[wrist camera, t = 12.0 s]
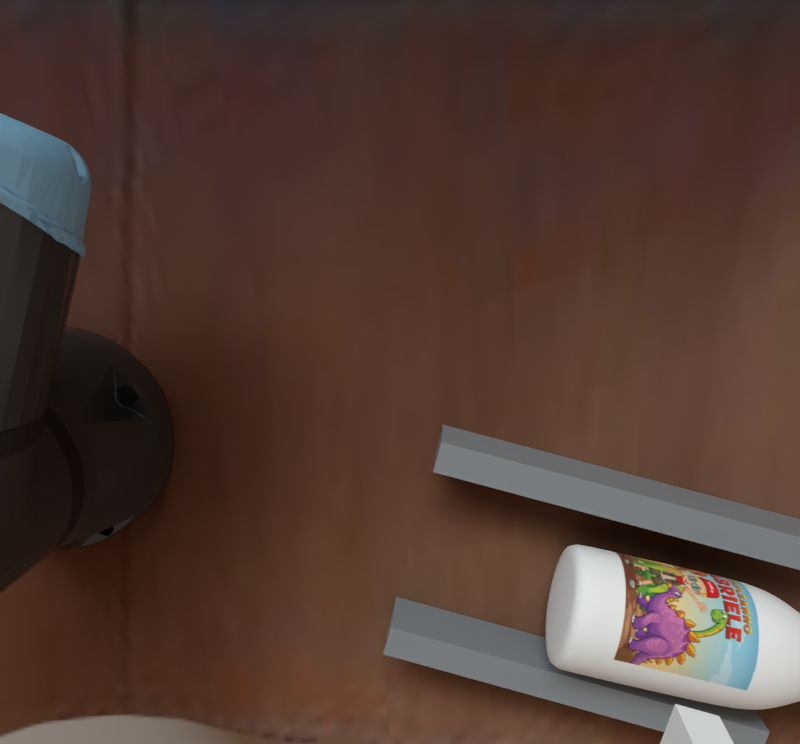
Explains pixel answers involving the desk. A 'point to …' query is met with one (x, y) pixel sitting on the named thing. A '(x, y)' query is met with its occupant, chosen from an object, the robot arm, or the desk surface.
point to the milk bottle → (672, 630)
